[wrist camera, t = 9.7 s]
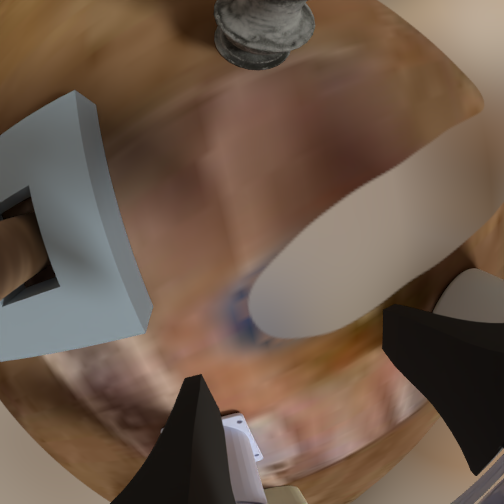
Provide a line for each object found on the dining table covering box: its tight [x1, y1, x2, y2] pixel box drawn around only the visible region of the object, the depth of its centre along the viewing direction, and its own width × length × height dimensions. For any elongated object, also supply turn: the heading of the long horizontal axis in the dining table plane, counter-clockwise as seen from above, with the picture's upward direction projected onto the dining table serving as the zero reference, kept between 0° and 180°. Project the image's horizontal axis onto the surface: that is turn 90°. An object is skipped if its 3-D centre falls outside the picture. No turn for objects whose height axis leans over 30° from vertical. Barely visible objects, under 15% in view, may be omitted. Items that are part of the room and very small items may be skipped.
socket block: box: [0, 90, 153, 362], centre depth 13 cm, size 14×14×4 cm
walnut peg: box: [0, 211, 51, 301], centre depth 11 cm, size 4×4×7 cm
